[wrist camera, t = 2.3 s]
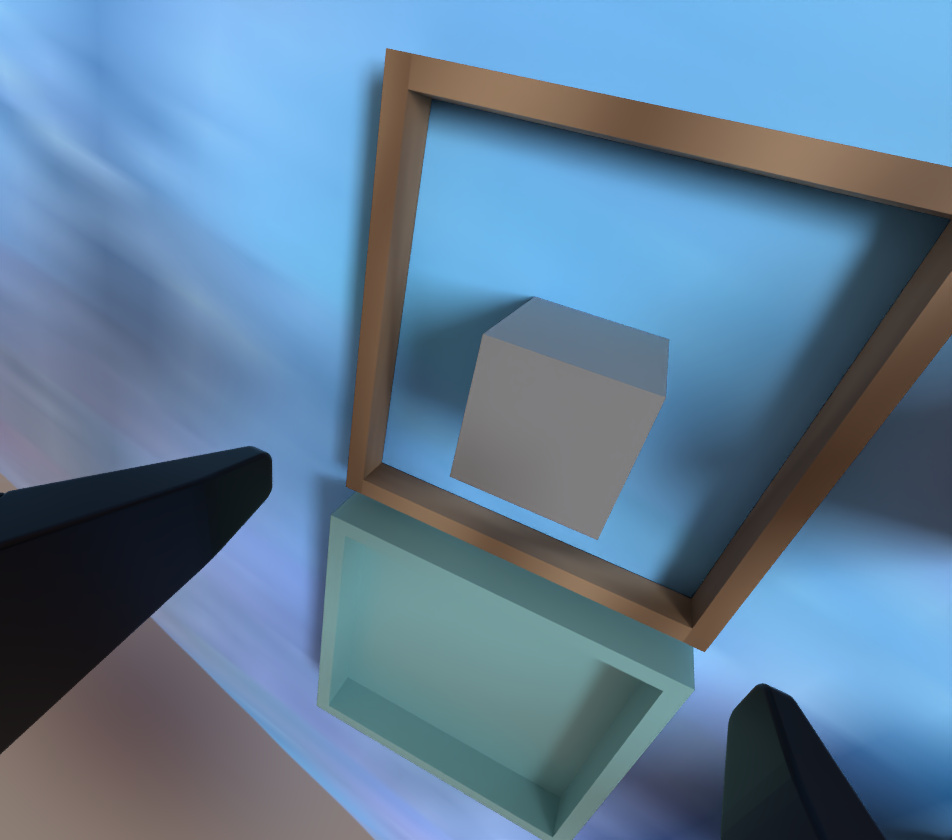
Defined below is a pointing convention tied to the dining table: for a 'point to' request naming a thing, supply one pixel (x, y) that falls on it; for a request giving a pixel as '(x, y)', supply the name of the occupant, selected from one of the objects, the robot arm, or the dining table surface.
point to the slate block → (560, 412)
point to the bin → (489, 670)
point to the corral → (691, 136)
